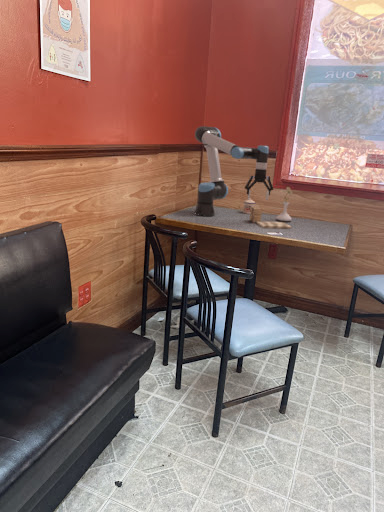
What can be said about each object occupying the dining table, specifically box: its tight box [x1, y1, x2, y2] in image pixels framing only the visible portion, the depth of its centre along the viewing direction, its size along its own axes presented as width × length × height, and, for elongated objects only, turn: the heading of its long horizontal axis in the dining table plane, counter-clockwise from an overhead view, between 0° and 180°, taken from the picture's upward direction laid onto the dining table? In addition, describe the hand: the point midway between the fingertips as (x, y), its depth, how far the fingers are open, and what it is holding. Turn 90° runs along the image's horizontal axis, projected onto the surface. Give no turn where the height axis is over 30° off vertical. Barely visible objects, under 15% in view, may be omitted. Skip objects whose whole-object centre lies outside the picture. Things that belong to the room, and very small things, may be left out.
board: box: [255, 221, 292, 230], centre depth 274 cm, size 20×14×2 cm
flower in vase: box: [275, 186, 293, 222], centre depth 293 cm, size 13×11×25 cm
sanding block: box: [249, 206, 263, 224], centre depth 283 cm, size 9×5×10 cm, turn 10°
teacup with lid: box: [242, 197, 259, 215], centre depth 315 cm, size 12×9×12 cm
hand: (257, 199), depth 280 cm, fingers open, 13 cm apart
